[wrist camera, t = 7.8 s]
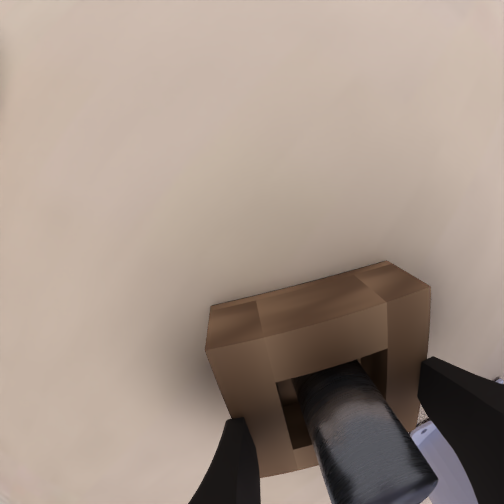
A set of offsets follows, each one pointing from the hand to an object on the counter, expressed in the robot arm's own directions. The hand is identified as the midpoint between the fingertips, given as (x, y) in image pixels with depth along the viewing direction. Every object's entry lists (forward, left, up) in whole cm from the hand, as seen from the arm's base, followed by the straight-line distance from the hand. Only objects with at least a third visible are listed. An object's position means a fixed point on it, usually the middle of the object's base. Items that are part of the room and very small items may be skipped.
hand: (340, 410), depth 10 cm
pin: (0, 0, -3) cm, 3 cm away
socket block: (0, 0, -4) cm, 4 cm away
